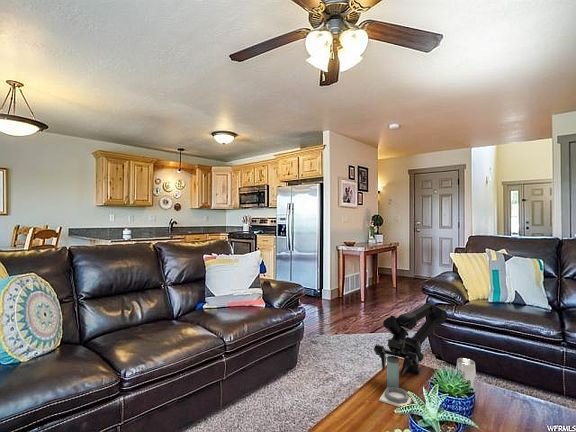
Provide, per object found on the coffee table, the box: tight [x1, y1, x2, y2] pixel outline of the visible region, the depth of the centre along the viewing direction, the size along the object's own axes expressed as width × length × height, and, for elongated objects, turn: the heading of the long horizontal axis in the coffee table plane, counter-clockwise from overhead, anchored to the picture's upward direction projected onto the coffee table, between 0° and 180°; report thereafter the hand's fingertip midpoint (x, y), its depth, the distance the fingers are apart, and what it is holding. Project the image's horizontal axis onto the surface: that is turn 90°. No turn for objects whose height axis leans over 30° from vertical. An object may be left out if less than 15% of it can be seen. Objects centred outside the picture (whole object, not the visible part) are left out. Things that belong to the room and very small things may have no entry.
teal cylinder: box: [386, 355, 400, 388], centre depth 145 cm, size 5×5×12 cm
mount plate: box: [379, 386, 413, 408], centre depth 135 cm, size 11×11×2 cm
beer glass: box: [456, 357, 477, 389], centre depth 136 cm, size 7×7×15 cm
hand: (392, 372), depth 143 cm, fingers open, 8 cm apart
